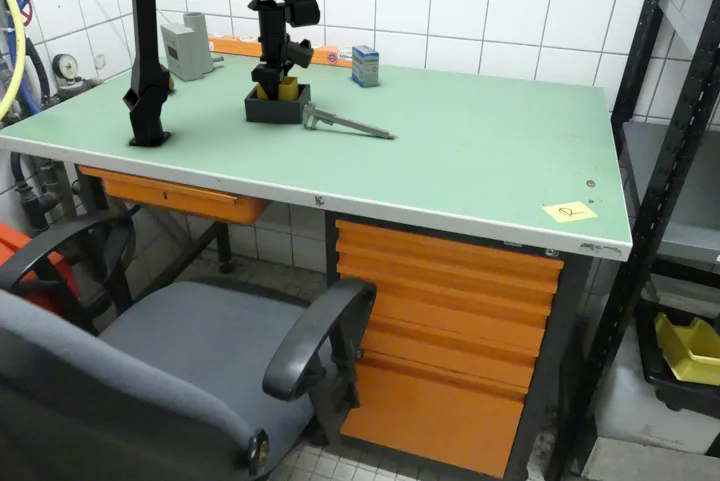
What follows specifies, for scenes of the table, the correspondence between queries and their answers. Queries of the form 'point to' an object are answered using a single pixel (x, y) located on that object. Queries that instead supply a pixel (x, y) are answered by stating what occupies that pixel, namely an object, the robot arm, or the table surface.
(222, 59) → the grey machine part
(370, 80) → the medicine box
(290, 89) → the small bin
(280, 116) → the big bin
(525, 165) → the table surface
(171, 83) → the yellow ridged cone
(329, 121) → the caliper
